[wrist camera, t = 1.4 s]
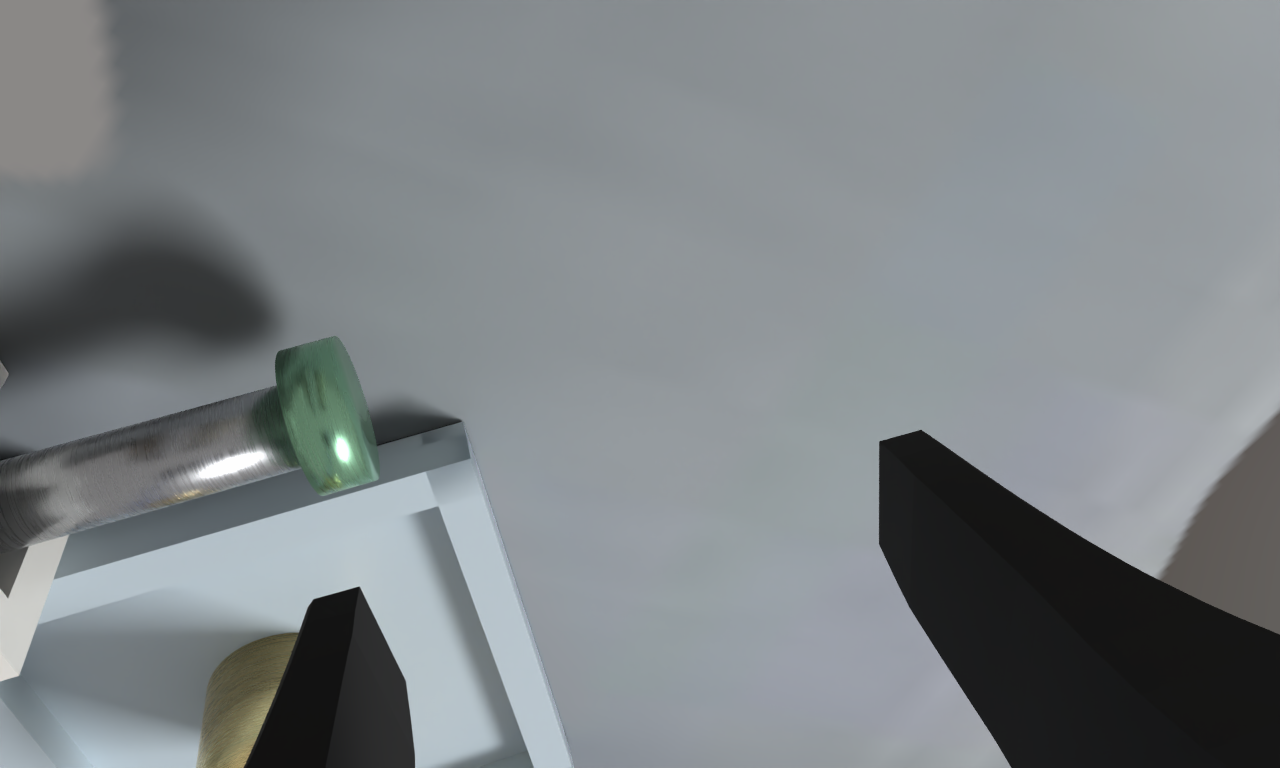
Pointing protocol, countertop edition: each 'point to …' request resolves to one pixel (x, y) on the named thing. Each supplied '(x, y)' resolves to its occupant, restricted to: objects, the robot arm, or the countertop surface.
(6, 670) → the white block
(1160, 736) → the robot arm
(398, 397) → the countertop surface
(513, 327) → the countertop surface
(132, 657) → the tray
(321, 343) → the knob
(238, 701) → the cylinder
